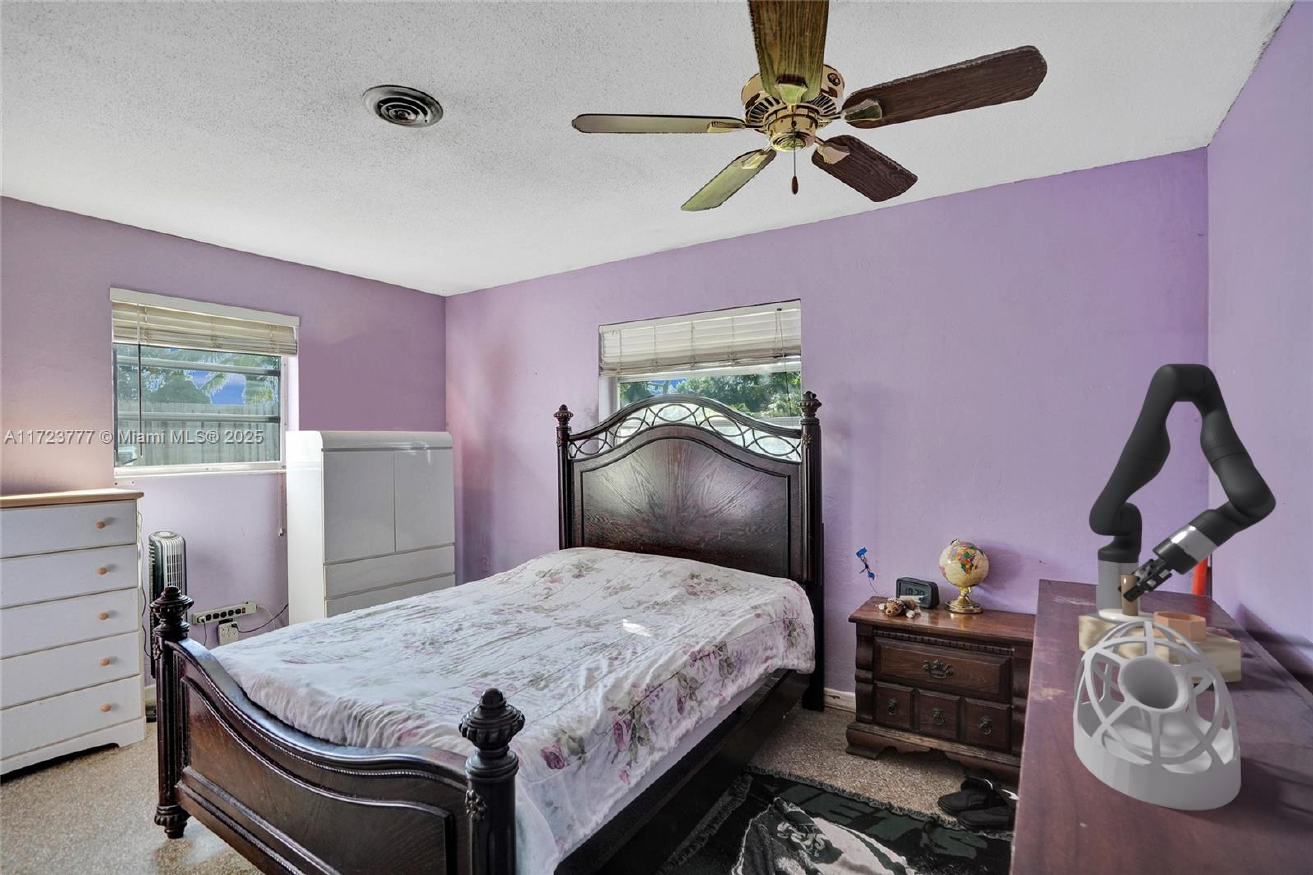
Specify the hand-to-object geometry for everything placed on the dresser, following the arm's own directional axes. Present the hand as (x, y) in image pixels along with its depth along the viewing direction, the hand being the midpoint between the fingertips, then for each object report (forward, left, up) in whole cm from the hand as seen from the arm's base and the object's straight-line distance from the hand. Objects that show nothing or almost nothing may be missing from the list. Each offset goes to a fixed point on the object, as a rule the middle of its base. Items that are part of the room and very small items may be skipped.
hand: (1123, 595), depth 149 cm
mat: (+1, +1, -6) cm, 6 cm away
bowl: (+13, +1, -6) cm, 14 cm away
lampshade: (+50, -40, -14) cm, 66 cm away
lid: (+1, +1, -5) cm, 5 cm away
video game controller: (+1, +22, -14) cm, 26 cm away
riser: (+7, +1, -14) cm, 15 cm away
